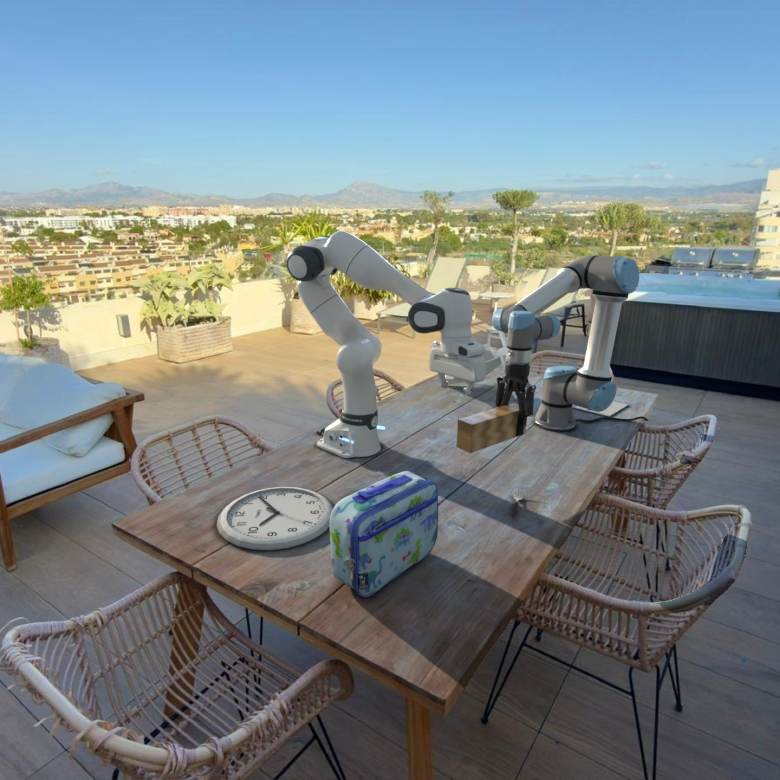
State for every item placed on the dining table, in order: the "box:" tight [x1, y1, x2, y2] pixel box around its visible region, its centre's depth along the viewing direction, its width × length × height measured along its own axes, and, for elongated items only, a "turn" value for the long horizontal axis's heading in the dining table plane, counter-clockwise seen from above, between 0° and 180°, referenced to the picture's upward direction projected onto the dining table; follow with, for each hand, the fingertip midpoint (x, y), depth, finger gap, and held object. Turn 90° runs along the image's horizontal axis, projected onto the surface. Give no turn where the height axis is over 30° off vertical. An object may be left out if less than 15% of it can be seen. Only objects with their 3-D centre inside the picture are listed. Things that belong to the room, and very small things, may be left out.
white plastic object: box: [445, 310, 527, 400], centre depth 245 cm, size 37×45×31 cm
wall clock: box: [216, 486, 334, 551], centre depth 136 cm, size 30×2×30 cm
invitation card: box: [573, 400, 629, 417], centre depth 226 cm, size 21×1×15 cm
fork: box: [511, 486, 525, 519], centre depth 144 cm, size 3×16×2 cm, turn 160°
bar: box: [455, 402, 528, 454], centre depth 161 cm, size 26×6×9 cm, turn 128°
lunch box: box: [329, 470, 439, 598], centre depth 113 cm, size 26×11×21 cm, turn 134°
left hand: (455, 390), depth 155 cm, fingers open, 8 cm apart
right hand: (511, 431), depth 168 cm, fingers closed on bar, 6 cm apart
